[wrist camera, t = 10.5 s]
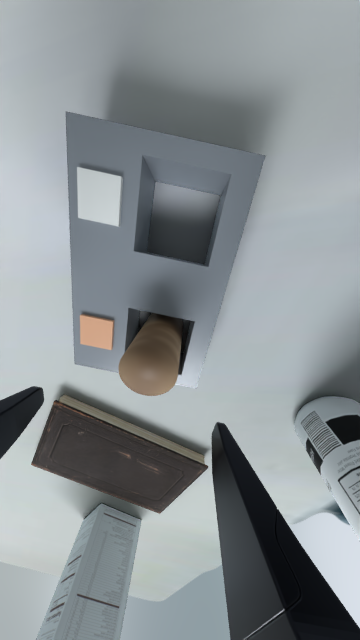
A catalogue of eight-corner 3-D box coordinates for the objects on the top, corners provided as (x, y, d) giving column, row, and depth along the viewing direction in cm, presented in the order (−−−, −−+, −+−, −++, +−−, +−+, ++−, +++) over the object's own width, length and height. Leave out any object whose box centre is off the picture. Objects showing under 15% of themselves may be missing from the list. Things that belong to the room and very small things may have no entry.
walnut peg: (186, 312, 18) (183, 353, 11) (179, 345, 20) (171, 400, 12) (149, 305, 18) (120, 340, 11) (145, 337, 20) (116, 389, 12)
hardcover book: (66, 388, 24) (53, 401, 22) (206, 451, 27) (208, 468, 24) (41, 451, 29) (30, 466, 27) (160, 497, 32) (158, 515, 30)
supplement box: (82, 519, 36) (-3, 726, 20) (100, 501, 33) (17, 728, 17) (122, 535, 37) (71, 739, 22) (143, 519, 34) (102, 743, 19)
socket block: (245, 182, 14) (267, 152, 10) (195, 364, 20) (196, 390, 16) (99, 150, 14) (61, 107, 10) (96, 343, 20) (72, 365, 16)
